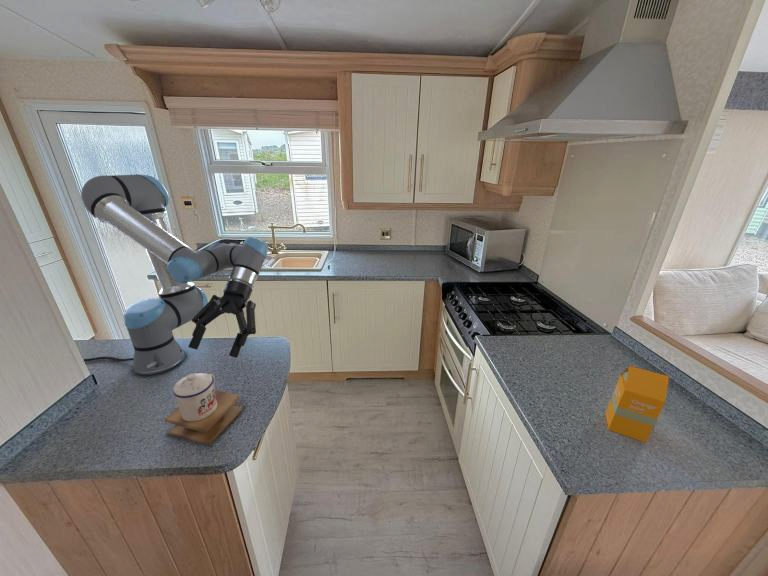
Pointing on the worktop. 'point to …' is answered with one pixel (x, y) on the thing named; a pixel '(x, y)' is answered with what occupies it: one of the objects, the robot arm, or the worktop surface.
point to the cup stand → (206, 420)
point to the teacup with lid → (196, 396)
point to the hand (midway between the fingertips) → (212, 352)
